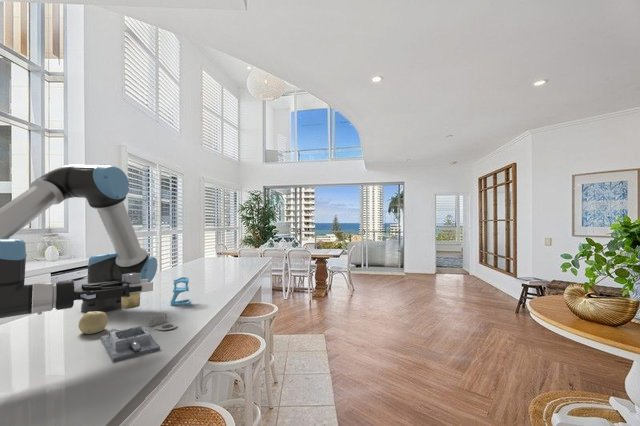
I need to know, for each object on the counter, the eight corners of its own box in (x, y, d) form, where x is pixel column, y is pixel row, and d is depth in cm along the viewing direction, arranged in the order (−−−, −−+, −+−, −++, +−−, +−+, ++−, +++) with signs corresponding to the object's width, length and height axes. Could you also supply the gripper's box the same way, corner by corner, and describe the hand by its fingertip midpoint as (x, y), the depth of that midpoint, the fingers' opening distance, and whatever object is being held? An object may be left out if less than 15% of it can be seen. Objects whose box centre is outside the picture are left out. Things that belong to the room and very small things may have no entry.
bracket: (163, 333, 104) (163, 323, 104) (148, 327, 109) (148, 317, 110) (181, 328, 109) (181, 318, 110) (165, 322, 115) (166, 313, 115)
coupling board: (100, 339, 97) (101, 328, 97) (142, 330, 105) (143, 320, 105) (112, 362, 82) (113, 349, 83) (160, 349, 91) (160, 338, 91)
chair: (170, 302, 140) (171, 276, 140) (190, 300, 143) (190, 275, 143) (170, 307, 133) (170, 279, 133) (190, 305, 136) (191, 278, 136)
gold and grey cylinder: (119, 305, 94) (120, 273, 94) (137, 303, 97) (138, 272, 98) (122, 309, 90) (124, 276, 91) (141, 306, 94) (142, 274, 94)
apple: (70, 335, 98) (75, 311, 102) (93, 337, 105) (97, 315, 109) (89, 330, 97) (94, 306, 101) (111, 332, 104) (115, 310, 108)
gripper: (52, 302, 88) (142, 290, 104) (55, 318, 75) (158, 302, 91) (53, 276, 88) (143, 269, 104) (57, 288, 75) (158, 277, 91)
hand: (150, 284), depth 98 cm, fingers closed on gold and grey cylinder, 5 cm apart
